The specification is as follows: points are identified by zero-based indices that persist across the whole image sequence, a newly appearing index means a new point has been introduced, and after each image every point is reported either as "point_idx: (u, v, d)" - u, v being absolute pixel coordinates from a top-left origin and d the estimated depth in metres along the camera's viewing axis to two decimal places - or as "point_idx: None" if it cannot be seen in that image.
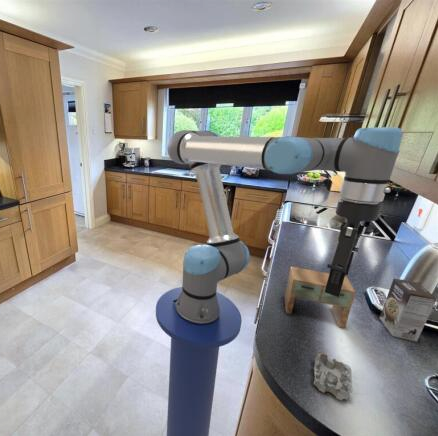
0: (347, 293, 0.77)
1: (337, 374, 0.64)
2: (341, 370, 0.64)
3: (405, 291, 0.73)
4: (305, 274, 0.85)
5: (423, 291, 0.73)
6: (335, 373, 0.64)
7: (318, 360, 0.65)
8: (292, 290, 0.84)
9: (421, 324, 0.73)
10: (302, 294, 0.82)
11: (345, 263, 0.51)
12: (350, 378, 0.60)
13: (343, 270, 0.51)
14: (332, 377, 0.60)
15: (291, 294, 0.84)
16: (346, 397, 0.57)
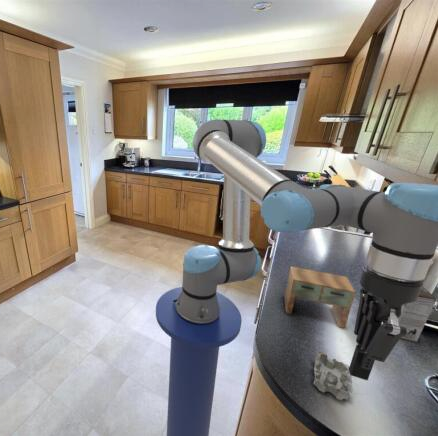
0: (347, 293, 0.77)
1: (337, 374, 0.64)
2: (341, 370, 0.64)
3: None
4: (305, 274, 0.85)
5: (423, 291, 0.73)
6: (335, 373, 0.64)
7: (318, 360, 0.65)
8: (292, 290, 0.84)
9: (421, 324, 0.73)
10: (302, 294, 0.82)
11: (385, 356, 0.43)
12: (350, 378, 0.60)
13: (382, 361, 0.44)
14: (332, 377, 0.60)
15: (291, 294, 0.84)
16: (346, 397, 0.57)
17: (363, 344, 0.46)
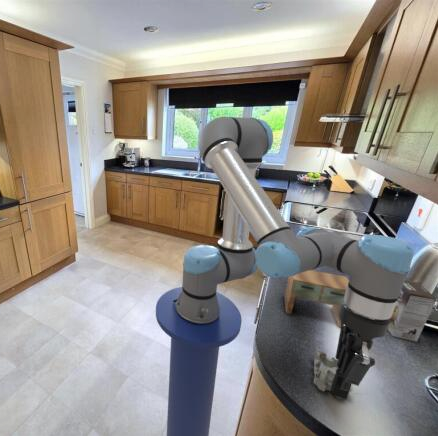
0: None
1: None
2: None
3: (405, 291, 0.73)
4: (305, 274, 0.85)
5: (423, 291, 0.73)
6: (334, 371, 0.65)
7: (317, 359, 0.65)
8: (292, 290, 0.84)
9: (421, 324, 0.73)
10: (302, 294, 0.82)
11: (359, 381, 0.50)
12: None
13: None
14: (332, 376, 0.60)
15: (291, 294, 0.84)
16: None
17: (342, 369, 0.54)
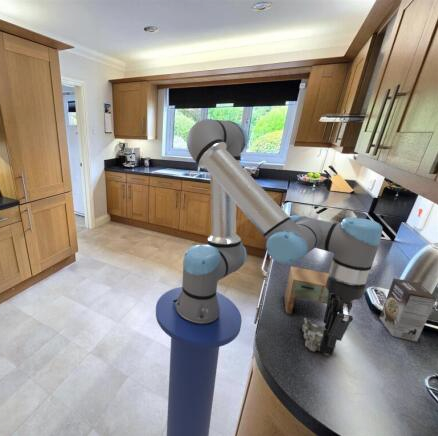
0: None
1: (320, 335, 0.77)
2: None
3: (405, 291, 0.73)
4: (305, 274, 0.85)
5: (423, 291, 0.73)
6: (319, 335, 0.77)
7: (306, 326, 0.76)
8: (292, 290, 0.84)
9: (421, 324, 0.73)
10: (302, 294, 0.82)
11: (341, 336, 0.62)
12: None
13: (339, 340, 0.63)
14: (319, 338, 0.72)
15: (291, 294, 0.84)
16: None
17: (328, 329, 0.65)
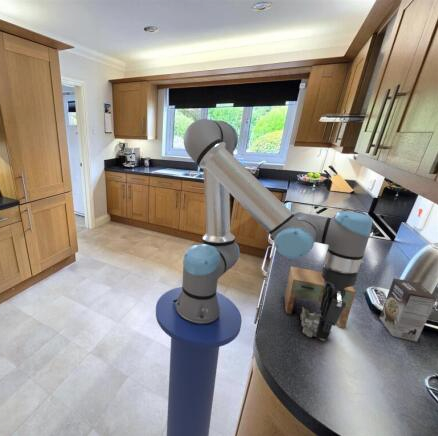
0: (347, 293, 0.77)
1: (317, 323, 0.82)
2: (319, 320, 0.82)
3: (405, 291, 0.73)
4: (305, 274, 0.85)
5: (423, 291, 0.73)
6: (316, 323, 0.82)
7: (303, 314, 0.82)
8: (292, 290, 0.84)
9: (421, 324, 0.73)
10: (302, 294, 0.82)
11: (335, 321, 0.67)
12: None
13: (334, 325, 0.68)
14: (316, 325, 0.77)
15: (291, 294, 0.84)
16: None
17: (323, 315, 0.71)
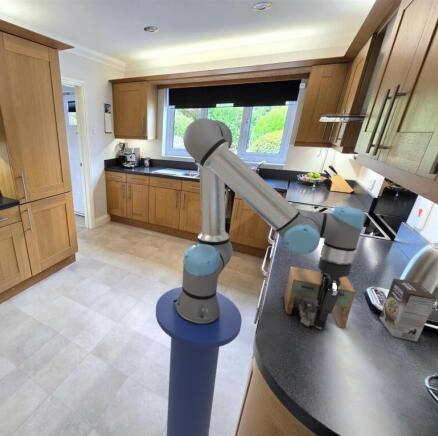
0: (347, 293, 0.77)
1: (314, 314, 0.86)
2: None
3: (405, 291, 0.73)
4: (305, 274, 0.85)
5: (423, 291, 0.73)
6: None
7: (301, 305, 0.86)
8: (292, 290, 0.84)
9: (421, 324, 0.73)
10: (302, 294, 0.82)
11: (331, 310, 0.72)
12: None
13: (330, 313, 0.72)
14: (313, 314, 0.82)
15: (291, 294, 0.84)
16: None
17: (320, 304, 0.75)
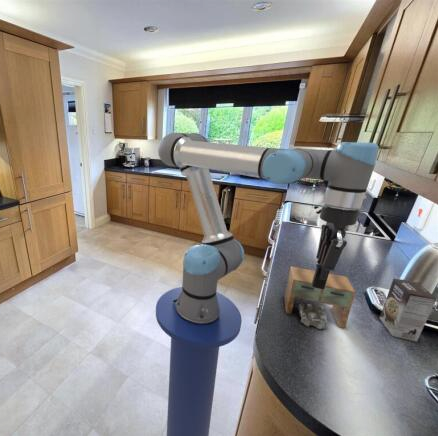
0: (347, 293, 0.77)
1: (314, 314, 0.86)
2: (317, 310, 0.87)
3: (405, 291, 0.73)
4: (305, 274, 0.85)
5: (423, 291, 0.73)
6: None
7: (301, 305, 0.86)
8: (292, 290, 0.84)
9: (421, 324, 0.73)
10: (302, 294, 0.82)
11: (334, 265, 0.61)
12: (324, 313, 0.82)
13: (332, 270, 0.62)
14: (313, 314, 0.82)
15: (291, 294, 0.84)
16: (323, 326, 0.79)
17: (321, 261, 0.65)
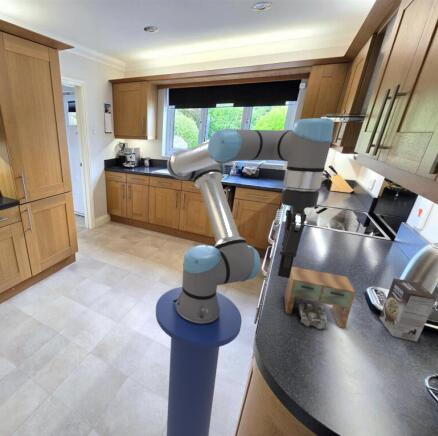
0: (347, 293, 0.77)
1: (314, 314, 0.86)
2: (317, 310, 0.87)
3: (405, 291, 0.73)
4: (305, 274, 0.85)
5: (423, 291, 0.73)
6: None
7: (301, 305, 0.86)
8: (292, 290, 0.84)
9: (421, 324, 0.73)
10: (302, 294, 0.82)
11: (295, 251, 0.58)
12: (324, 313, 0.82)
13: (294, 256, 0.59)
14: (313, 314, 0.82)
15: (291, 294, 0.84)
16: (323, 326, 0.79)
17: (284, 248, 0.62)
